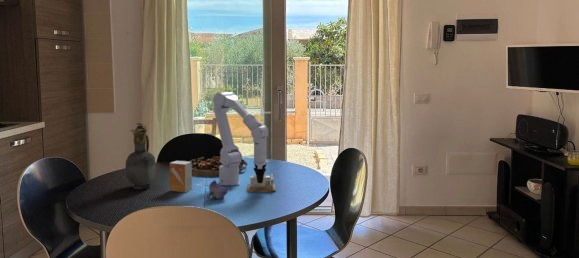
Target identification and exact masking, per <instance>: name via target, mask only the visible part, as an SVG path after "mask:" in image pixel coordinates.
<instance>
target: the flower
mask: <svg viewBox="0 0 579 258" xmlns="http://www.w3.org/2000/svg"><path fill="white" fill-rule="evenodd" d="M208 190H209V193H207V195H206V196H207V198H206V199H207V202H210V198H211V196H212V197H213V198H215V199H216V200H224V199H225V196H226V195H227V194H228V191H229V190H228V188H227V187H226V186H223V185H220V183H219V182H218V183H217V180H216V179H214V178H213V180H212V182H210V183H209V187H208Z"/></svg>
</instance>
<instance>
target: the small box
mask: <svg viewBox="0 0 579 258" xmlns="http://www.w3.org/2000/svg"><path fill="white" fill-rule="evenodd" d="M192 162H193V161H187V160H175V161H171V162H169V166H168V167H169V191H170V192H178V193H183V194H184V193H188V192H190V191H191V190H193V176H192V165H193V163H192Z"/></svg>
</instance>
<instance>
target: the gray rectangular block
mask: <svg viewBox="0 0 579 258" xmlns="http://www.w3.org/2000/svg"><path fill="white" fill-rule="evenodd" d="M249 180H250V182H249V183H250V188H266V180H270V181H271V175H264V177H263V182H262V183H258V182H257V177H256V175H250V179H249Z"/></svg>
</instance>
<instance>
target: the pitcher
mask: <svg viewBox="0 0 579 258" xmlns="http://www.w3.org/2000/svg"><path fill="white" fill-rule="evenodd" d="M136 125H137V126H136V127H135V128H134V129H131V130H130V132H132V135H133V144H134V151H133V152H131V153H130V154H128V156H127V158H126V161H125V176H126V177H125V178H126V180H127V182H129V183H130V184H133V186H132V187H133V189H134V190H144V189H145V190H146V189H148V188H150V186H151V185H150V184H149V183H152V181H153V180H154V178H155V176H156V169H157V168H156V167H157V166H156V165H157V164H156V157H155V156H154V154H152V153H151V152H149V149H150V148H149V147H150V138H149V137H150V136H149V134H148V133H147V132H148V131H149V130H148V128H147V126H145V125H144V124H142V123H141V122H137V123H136Z"/></svg>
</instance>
